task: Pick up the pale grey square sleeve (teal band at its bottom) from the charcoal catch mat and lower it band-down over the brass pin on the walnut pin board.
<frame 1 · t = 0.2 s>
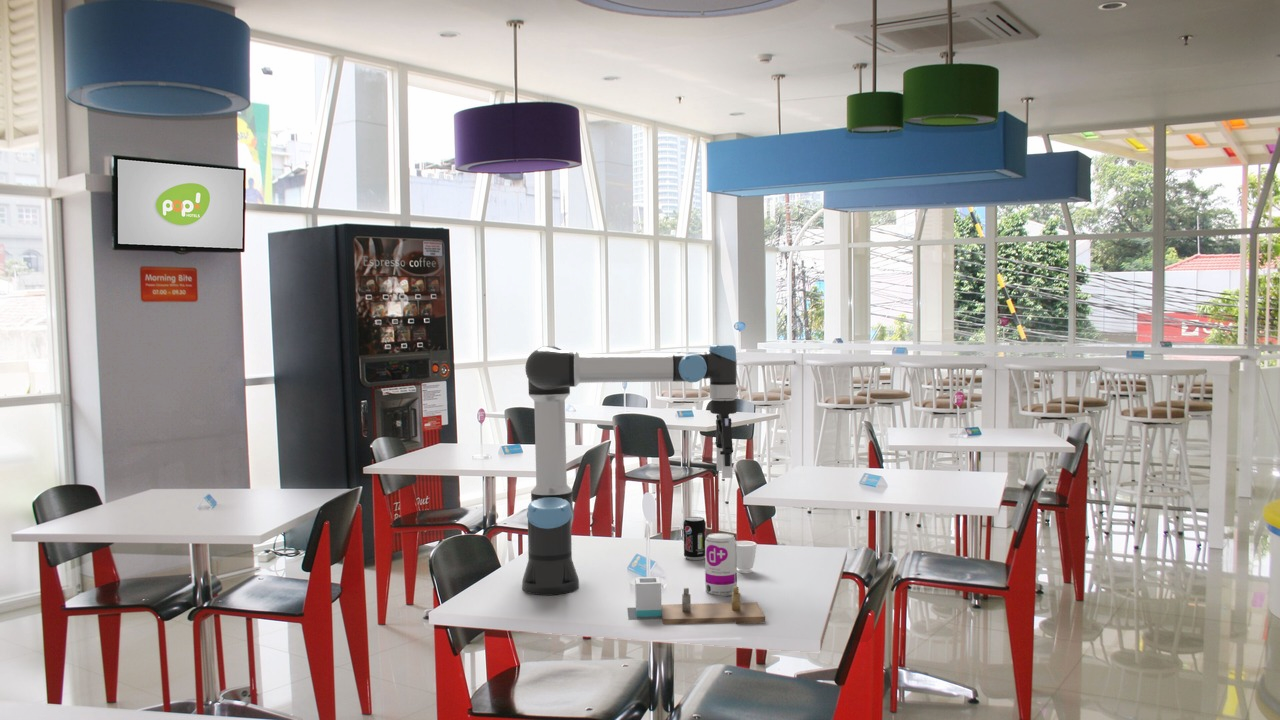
hand: (724, 474, 279), 28 cm above the table, fingers open, 13 cm apart
sleeve: (648, 613, 238), resting on catch mat
pinboard: (711, 616, 236), on the table
cup: (739, 571, 280), on the table
supplement can: (721, 593, 257), on the table
catch mat: (648, 614, 239), on the table
beverage can: (695, 558, 296), on the table
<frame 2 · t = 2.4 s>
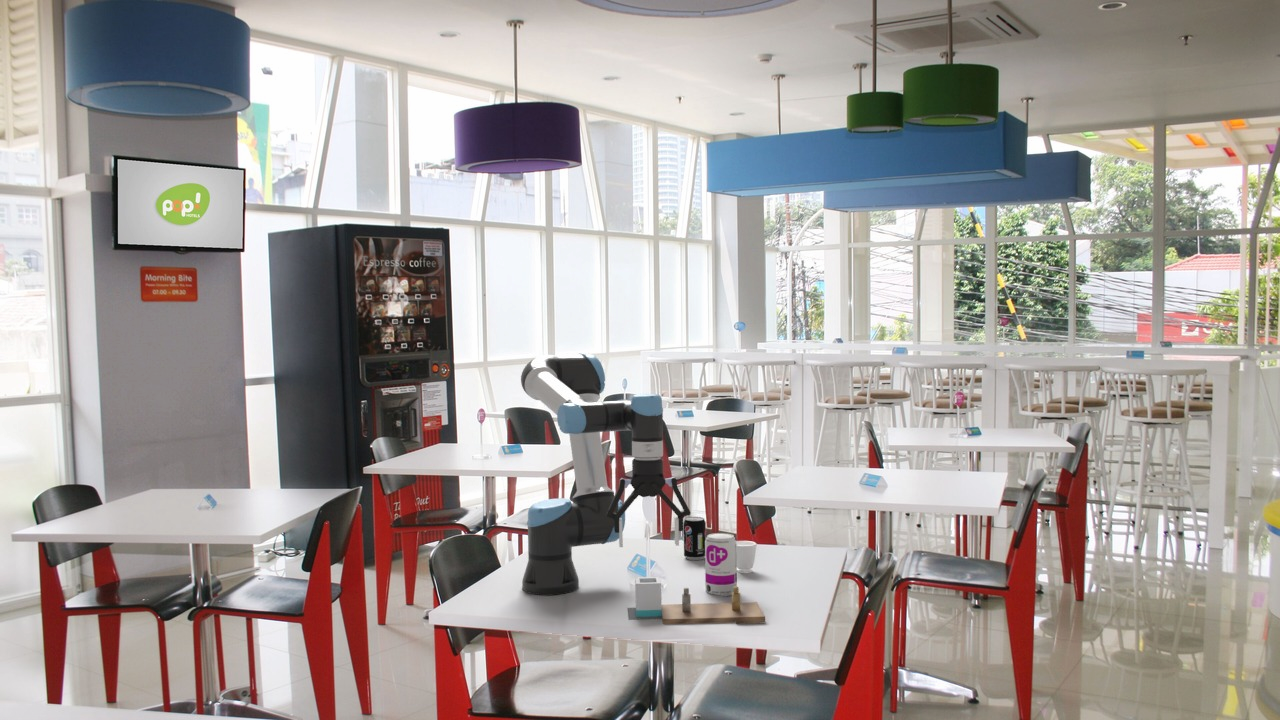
hand: (648, 545, 238), 17 cm above the table, fingers open, 13 cm apart
nothing on the table moved.
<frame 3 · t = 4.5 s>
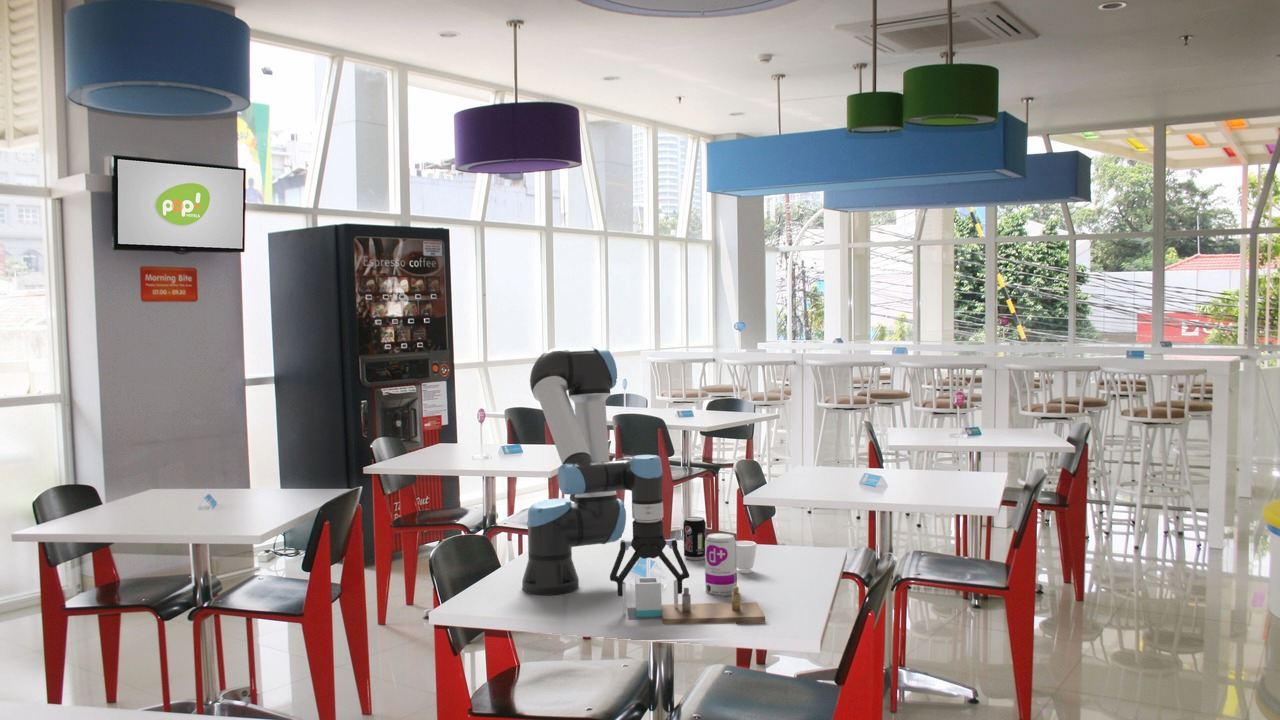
hand: (650, 608, 238), 2 cm above the table, fingers open, 12 cm apart
nothing on the table moved.
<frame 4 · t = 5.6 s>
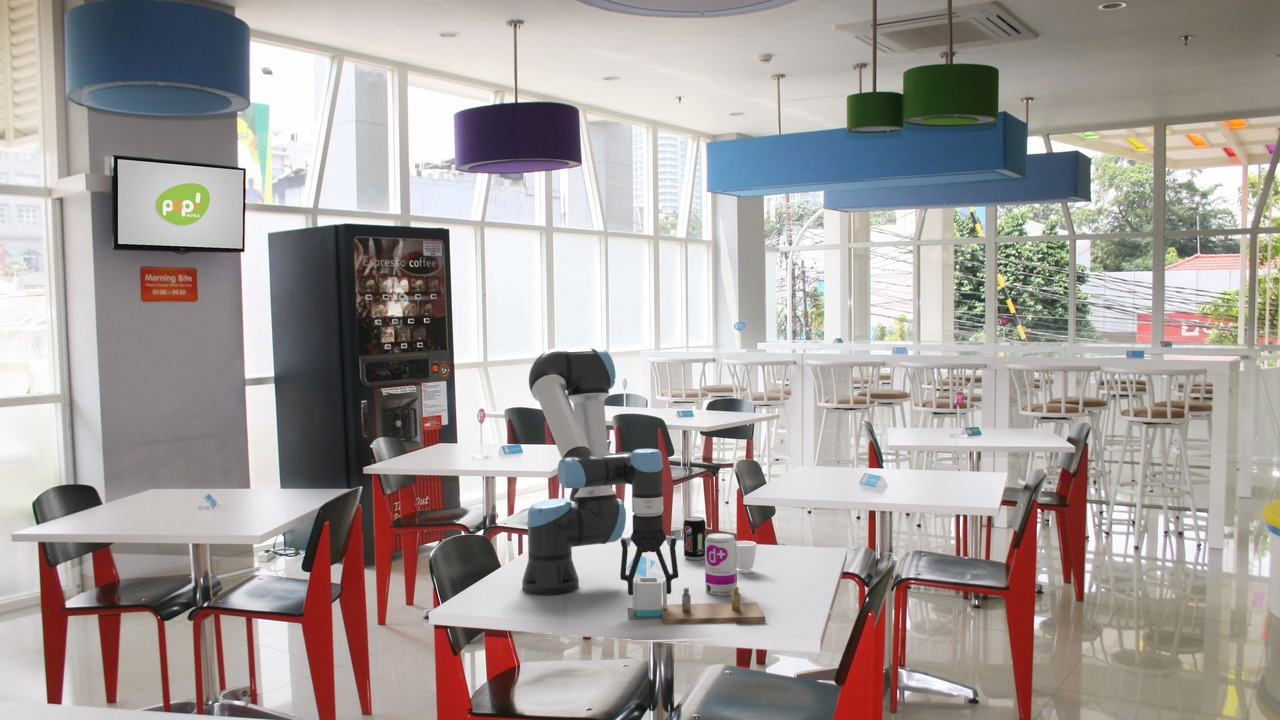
hand: (649, 607, 238), 2 cm above the table, fingers open, 7 cm apart
sleeve: (648, 612, 238), resting on catch mat, touching gripper, pinboard
everything else where it was.
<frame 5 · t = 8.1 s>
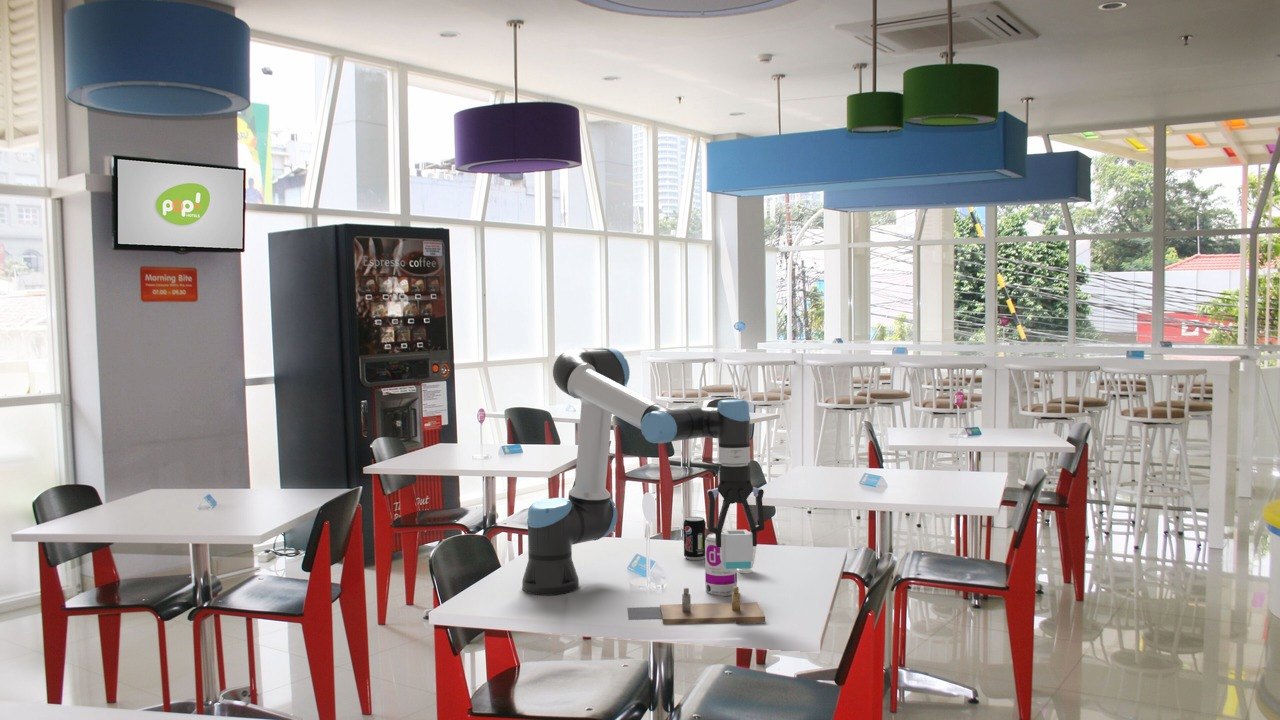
hand: (736, 560, 236), 14 cm above the table, fingers closed on sleeve, 6 cm apart
sleeve: (736, 565, 236), point 12 cm above the table, touching gripper
everything else where it was.
when the fingers open (3 cm above the table, at t = 10.4 s): sleeve stays where it is, resting on pinboard.
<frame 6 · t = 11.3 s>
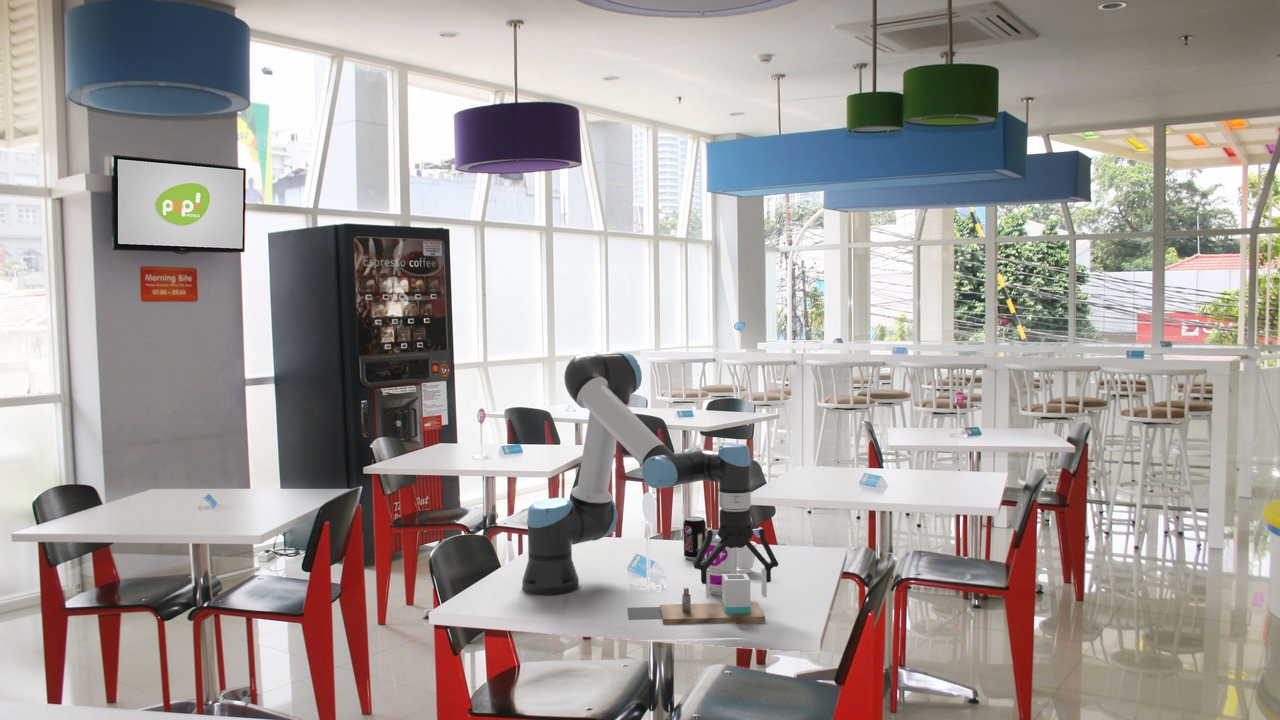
hand: (736, 596, 236), 5 cm above the table, fingers open, 13 cm apart
sleeve: (736, 609, 236), point 1 cm above the table, touching pinboard
everything else where it was.
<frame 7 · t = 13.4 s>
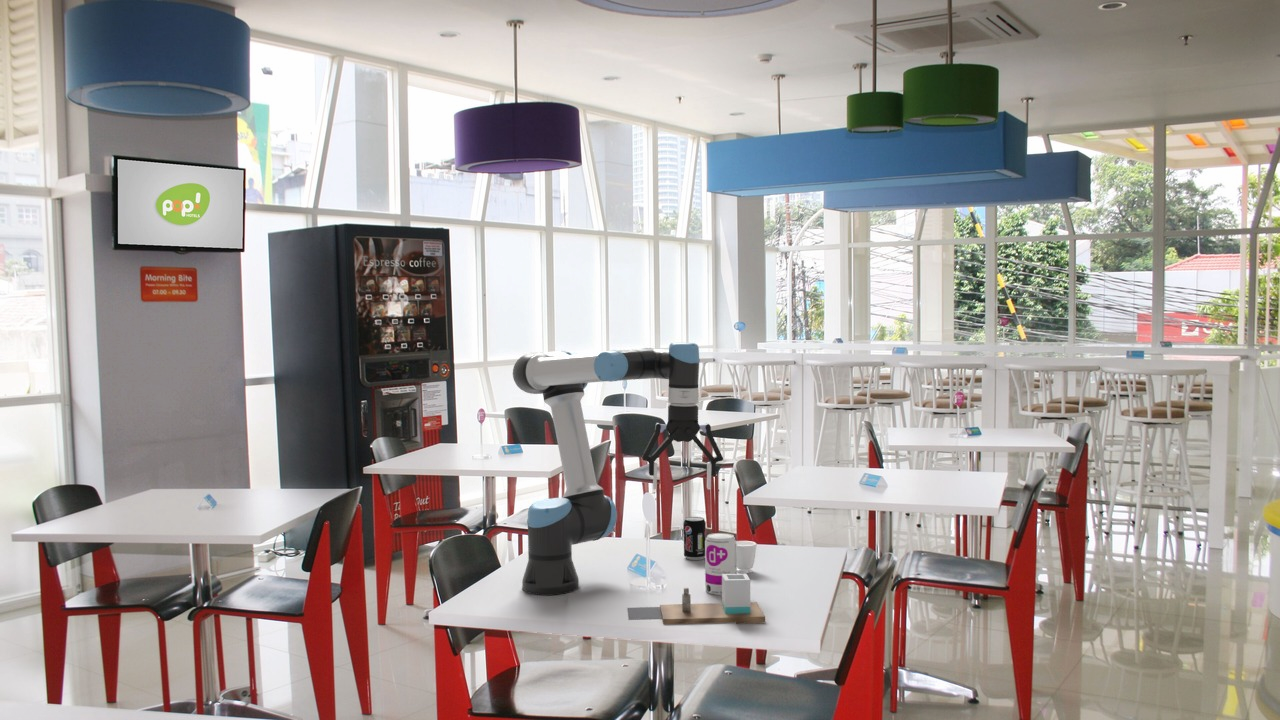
hand: (681, 488, 247), 29 cm above the table, fingers open, 13 cm apart
nothing on the table moved.
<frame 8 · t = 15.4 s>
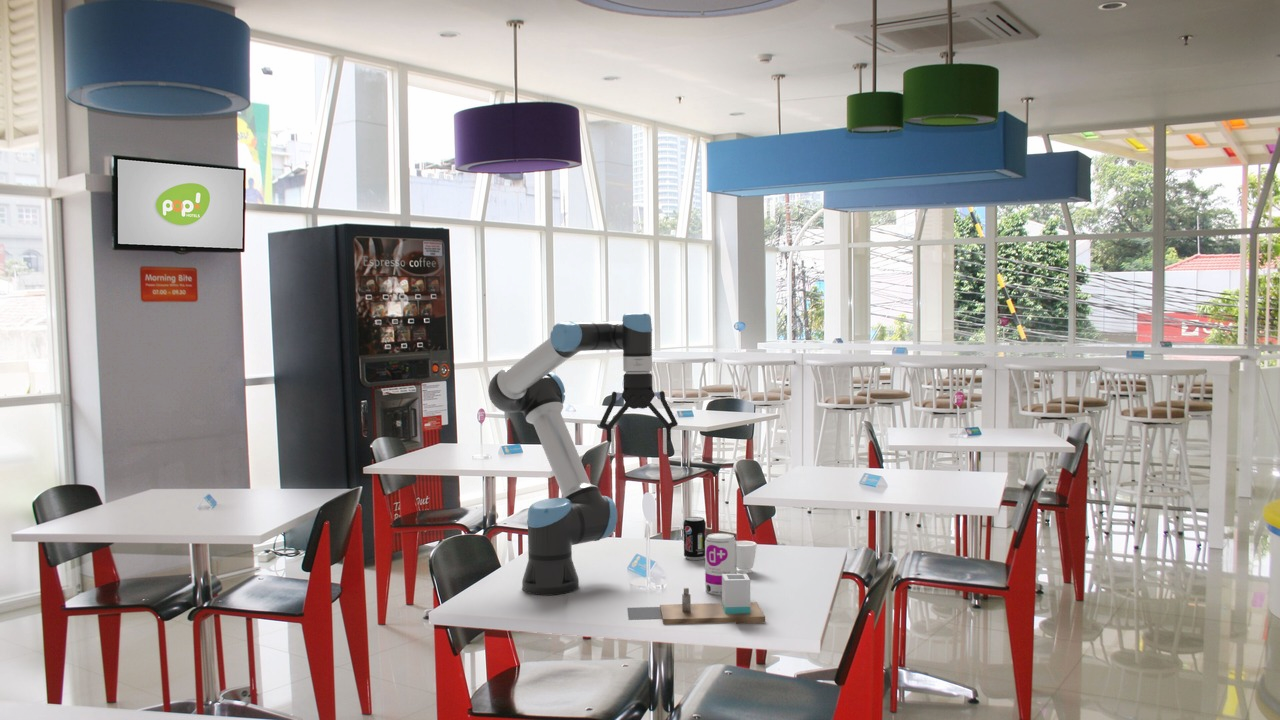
hand: (639, 454, 256), 37 cm above the table, fingers open, 13 cm apart
nothing on the table moved.
at the end: sleeve 0.1 cm from the target spot on the pinboard, point 1.5 cm above the pinboard's base; sleeve tilted 0°; the gripper is holding nothing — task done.
